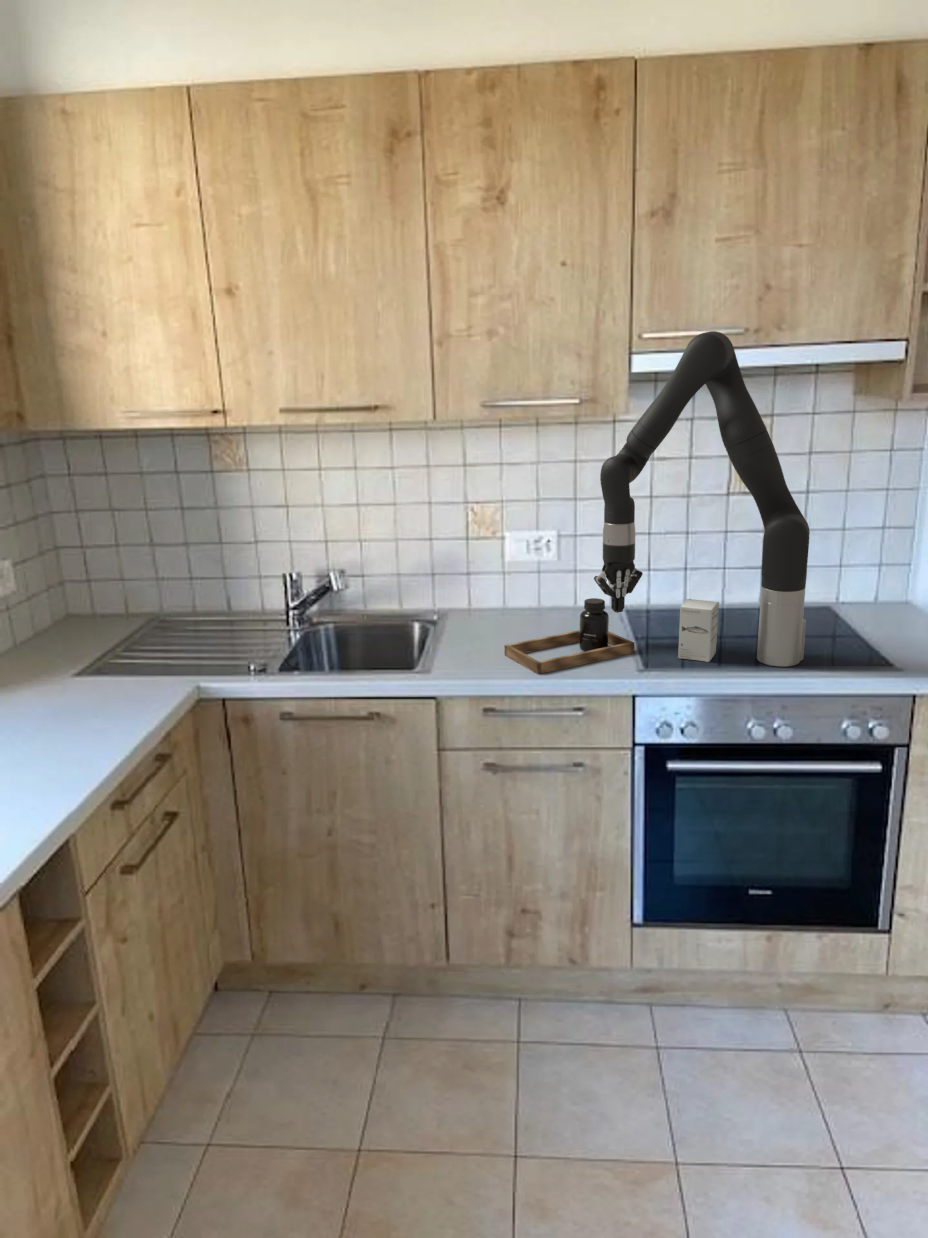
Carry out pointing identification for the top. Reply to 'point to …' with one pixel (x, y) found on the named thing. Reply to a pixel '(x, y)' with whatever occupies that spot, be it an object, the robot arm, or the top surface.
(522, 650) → the walnut frame
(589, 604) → the supplement bottle
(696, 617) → the supplement box
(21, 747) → the top surface
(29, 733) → the top surface
